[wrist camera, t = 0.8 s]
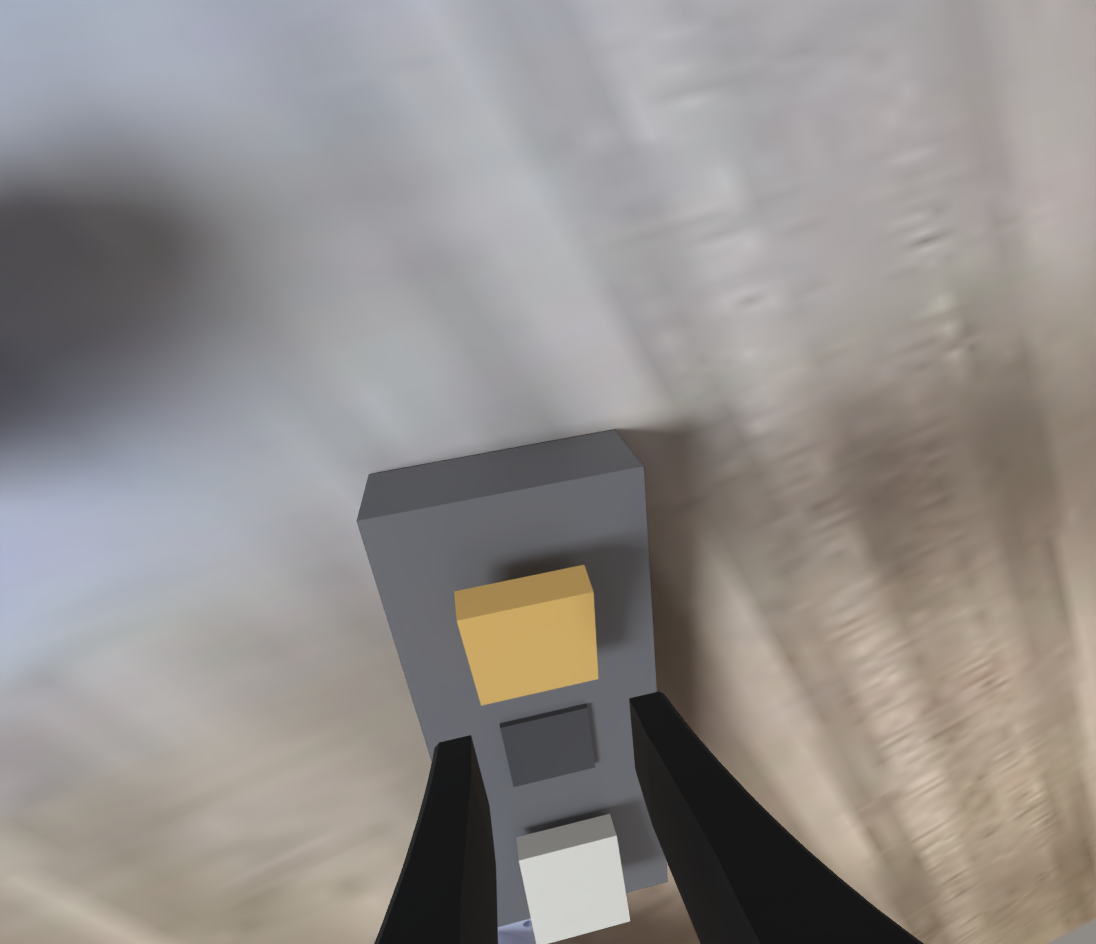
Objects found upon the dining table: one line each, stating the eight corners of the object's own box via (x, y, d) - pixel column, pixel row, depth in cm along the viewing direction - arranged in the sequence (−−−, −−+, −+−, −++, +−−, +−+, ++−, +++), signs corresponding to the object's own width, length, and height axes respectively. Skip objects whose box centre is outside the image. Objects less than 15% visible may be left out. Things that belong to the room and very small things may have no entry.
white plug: (623, 896, 23) (630, 921, 22) (533, 920, 22) (536, 946, 21) (609, 813, 22) (616, 835, 21) (516, 837, 21) (518, 860, 20)
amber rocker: (590, 651, 18) (598, 678, 18) (477, 676, 18) (481, 705, 17) (584, 564, 16) (593, 591, 15) (454, 591, 16) (456, 620, 15)
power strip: (648, 854, 29) (671, 925, 26) (490, 895, 28) (496, 973, 25) (614, 429, 19) (646, 469, 16) (368, 474, 18) (355, 524, 15)
